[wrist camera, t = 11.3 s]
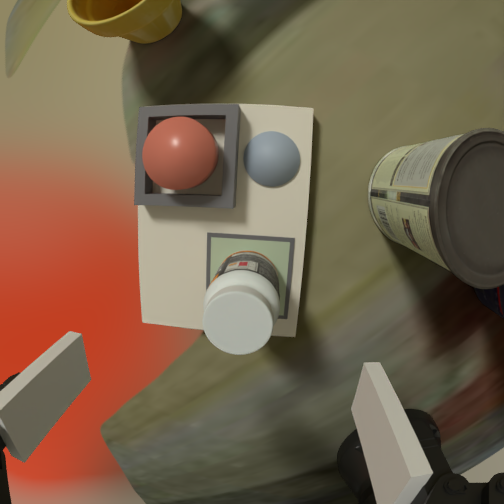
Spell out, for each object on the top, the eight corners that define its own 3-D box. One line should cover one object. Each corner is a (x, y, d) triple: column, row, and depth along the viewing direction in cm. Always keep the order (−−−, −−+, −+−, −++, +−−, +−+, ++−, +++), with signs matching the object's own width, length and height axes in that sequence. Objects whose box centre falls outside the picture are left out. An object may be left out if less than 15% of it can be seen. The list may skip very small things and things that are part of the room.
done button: (217, 190, 27) (211, 191, 25) (151, 188, 27) (140, 189, 25) (220, 121, 26) (215, 116, 23) (155, 122, 26) (144, 118, 24)
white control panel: (294, 330, 33) (296, 346, 29) (147, 316, 34) (135, 330, 30) (311, 111, 28) (316, 103, 24) (148, 109, 29) (134, 102, 25)
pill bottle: (213, 252, 30) (185, 287, 20) (275, 245, 29) (276, 278, 20) (223, 308, 31) (202, 363, 21) (281, 303, 30) (284, 358, 21)
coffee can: (468, 185, 28) (559, 196, 14) (421, 264, 30) (498, 315, 17) (399, 124, 27) (478, 94, 14) (347, 207, 30) (403, 231, 16)
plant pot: (94, 45, 27) (46, 15, 18) (144, -23, 25) (112, -66, 15) (162, 72, 28) (122, 37, 18) (217, -2, 25) (198, -54, 16)
